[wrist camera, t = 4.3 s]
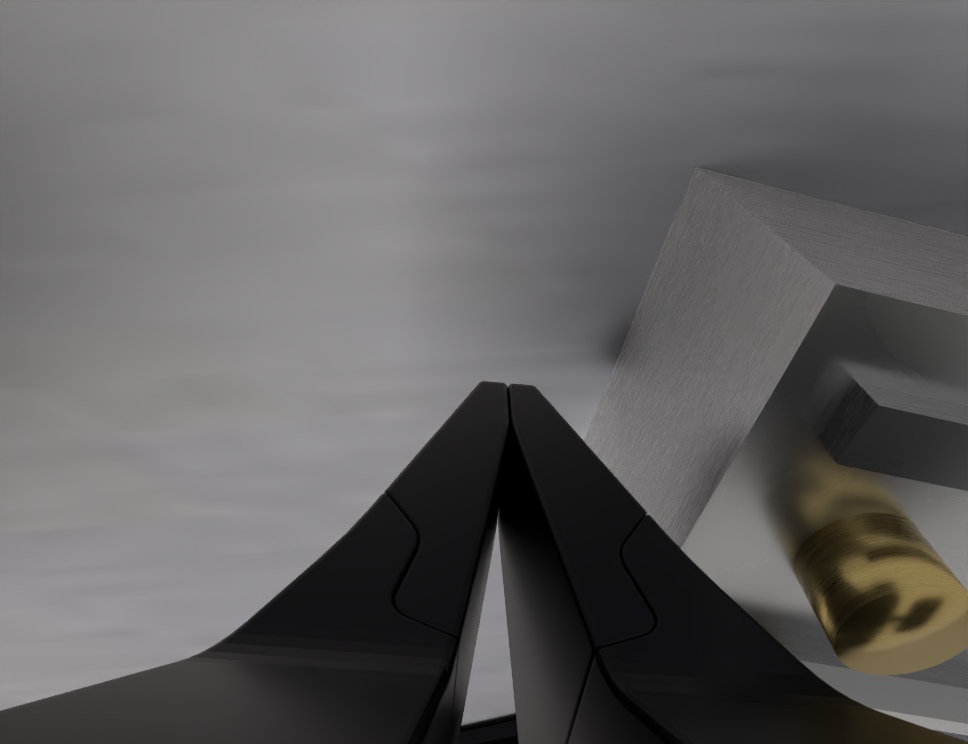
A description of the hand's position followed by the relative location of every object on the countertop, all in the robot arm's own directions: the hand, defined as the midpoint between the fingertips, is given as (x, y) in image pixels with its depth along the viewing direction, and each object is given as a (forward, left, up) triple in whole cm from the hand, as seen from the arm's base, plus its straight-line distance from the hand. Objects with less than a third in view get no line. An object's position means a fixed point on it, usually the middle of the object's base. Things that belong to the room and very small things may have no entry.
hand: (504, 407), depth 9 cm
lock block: (+5, -3, -2) cm, 6 cm away
